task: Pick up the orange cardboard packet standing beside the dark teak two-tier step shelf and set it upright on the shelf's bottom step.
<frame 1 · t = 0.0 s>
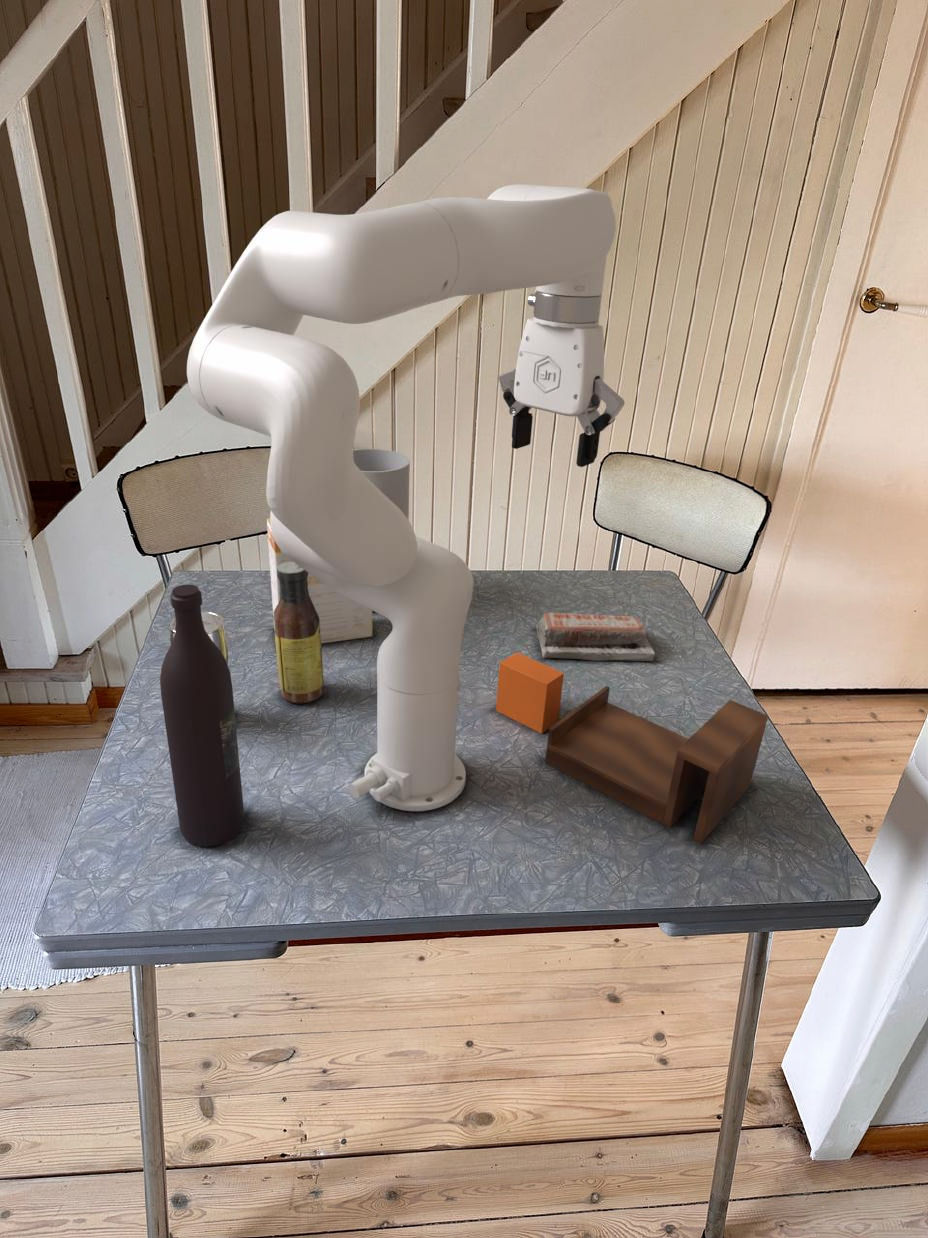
hand: (552, 455, 104), 37 cm above the table, tool pointing down, fingers open, 9 cm apart
packaged product: (592, 647, 137), on the table
wine bottle: (213, 828, 96), on the table
shelf: (646, 774, 108), on the table
sauce bottle: (301, 694, 121), on the table
beer glass: (207, 721, 114), on the table
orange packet: (526, 716, 118), on the table
cylinder vase: (371, 597, 149), on the table
coffeecake box: (323, 634, 136), on the table
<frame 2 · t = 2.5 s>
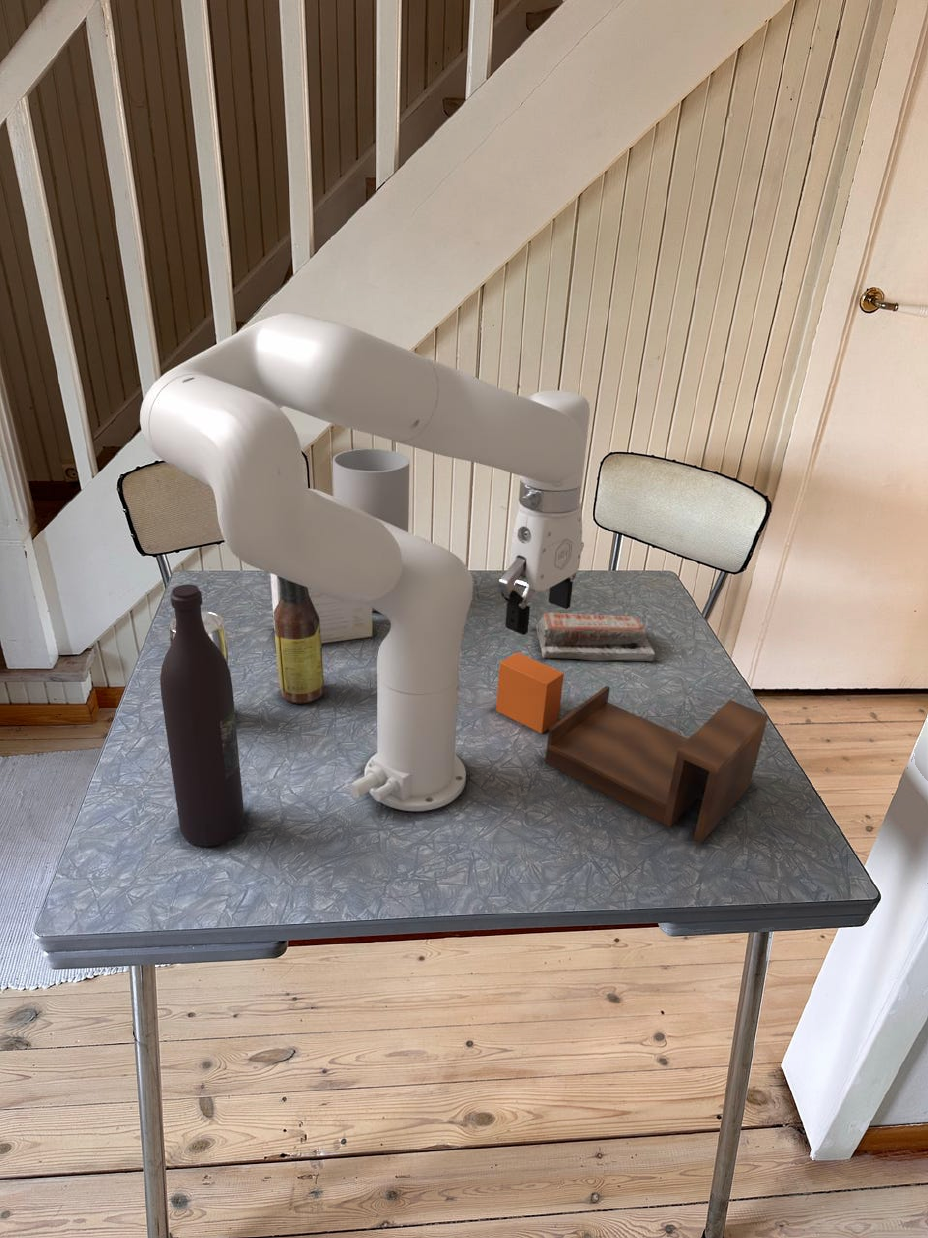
hand: (538, 617, 111), 16 cm above the table, tool pointing down, fingers open, 9 cm apart
nothing on the table moved.
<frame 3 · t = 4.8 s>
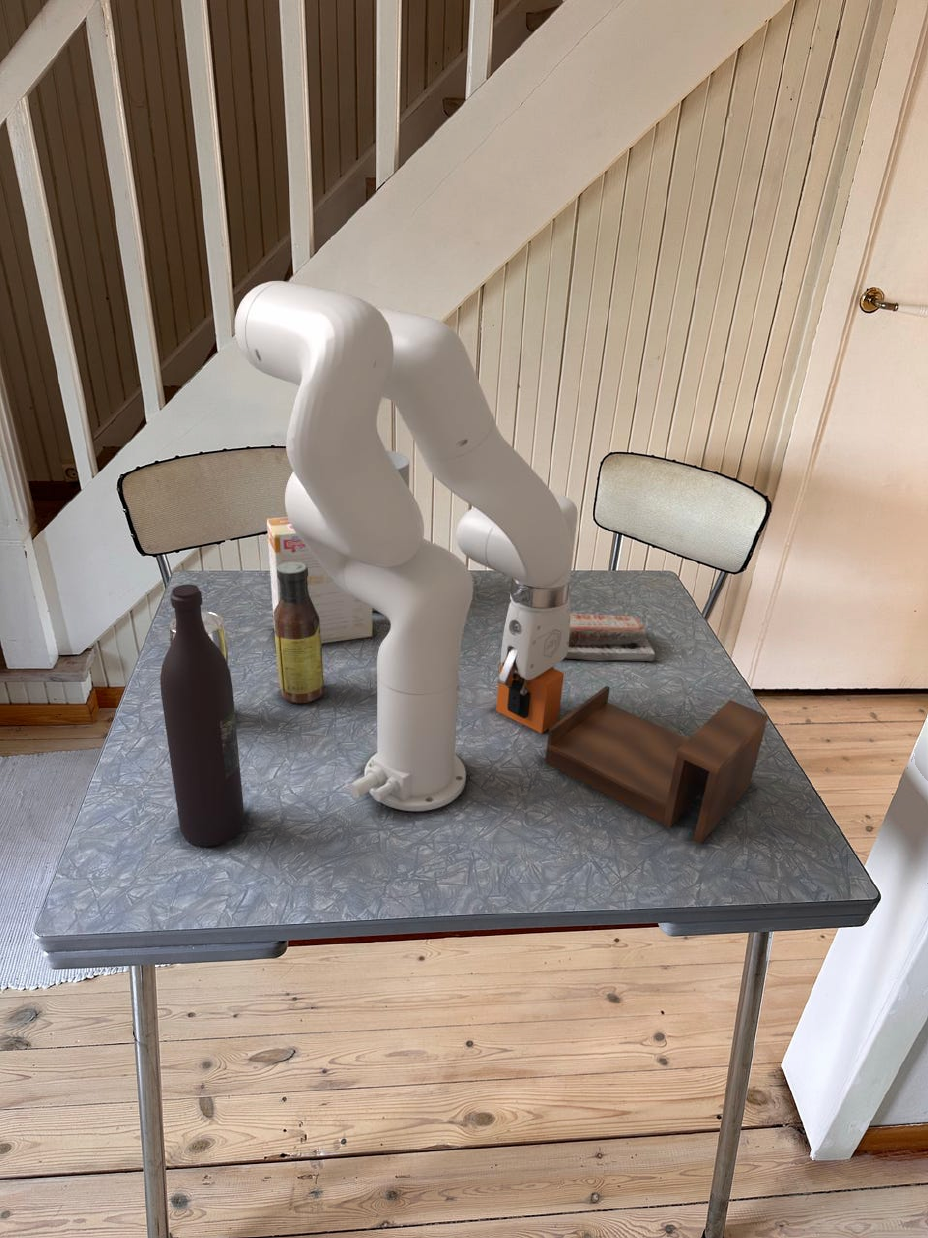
hand: (527, 705, 118), 2 cm above the table, tool pointing down, fingers closed on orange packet, 4 cm apart
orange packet: (526, 716, 118), on the table, touching gripper
everything else where it was.
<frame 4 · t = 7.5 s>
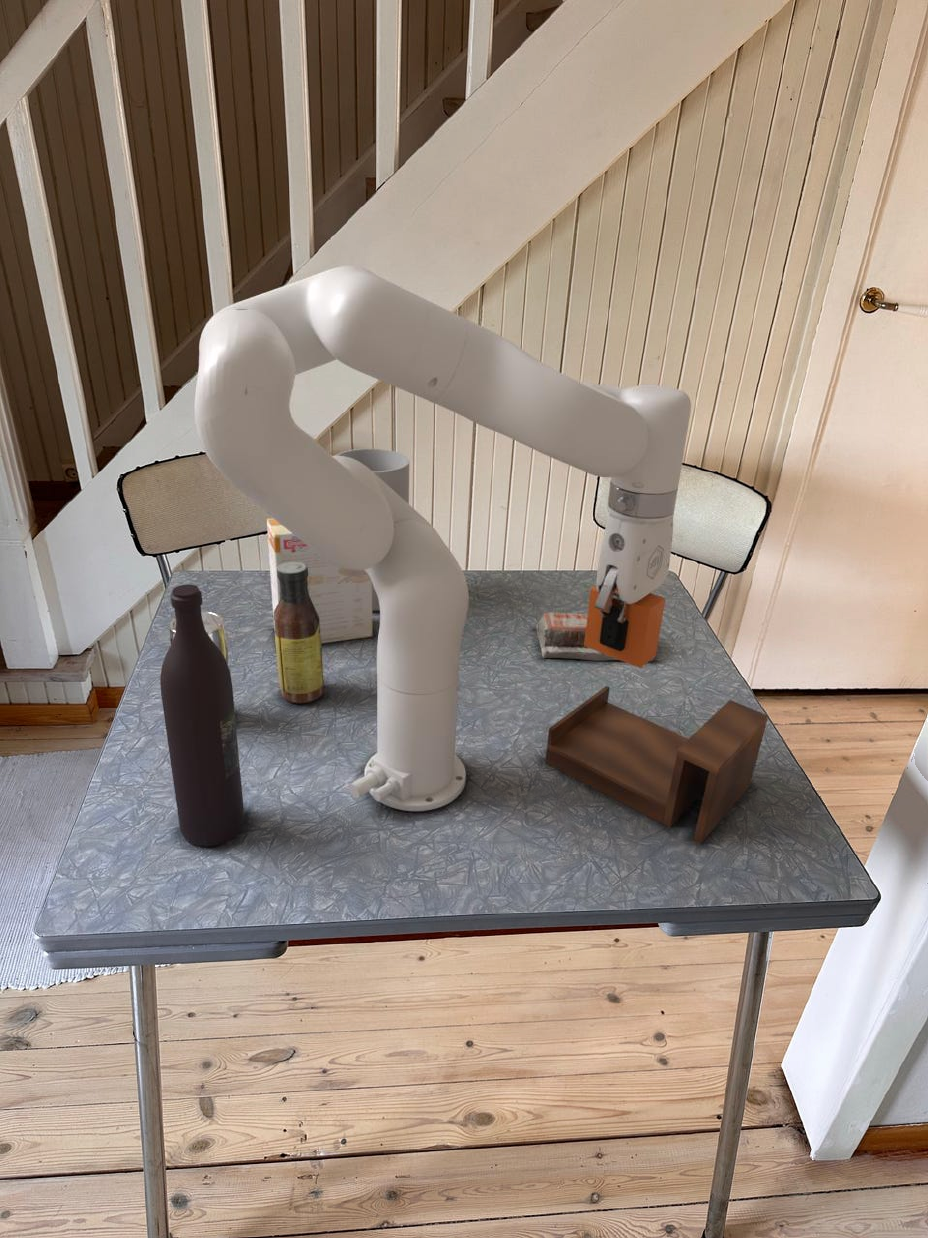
hand: (621, 638, 104), 17 cm above the table, tool pointing down, fingers closed on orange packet, 4 cm apart
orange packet: (619, 650, 104), point 16 cm above the table, touching gripper
everything else where it was.
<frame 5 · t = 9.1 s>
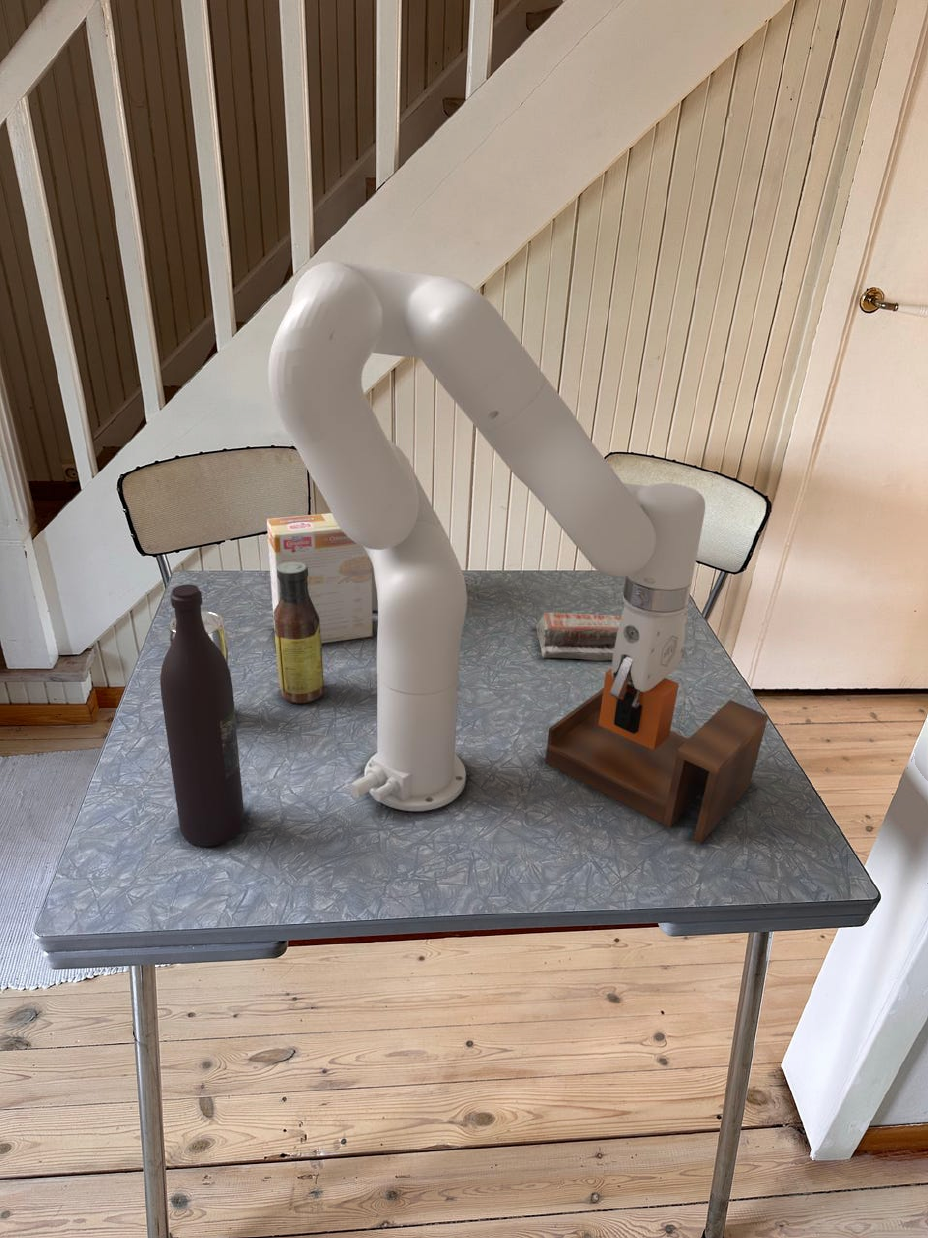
hand: (635, 719, 106), 7 cm above the table, tool pointing down, fingers closed on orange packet, 4 cm apart
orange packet: (633, 731, 107), point 5 cm above the table, touching gripper
everything else where it was.
when the fingers open (5 cm above the table, at t = 10.2 s): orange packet stays where it is, resting on shelf.
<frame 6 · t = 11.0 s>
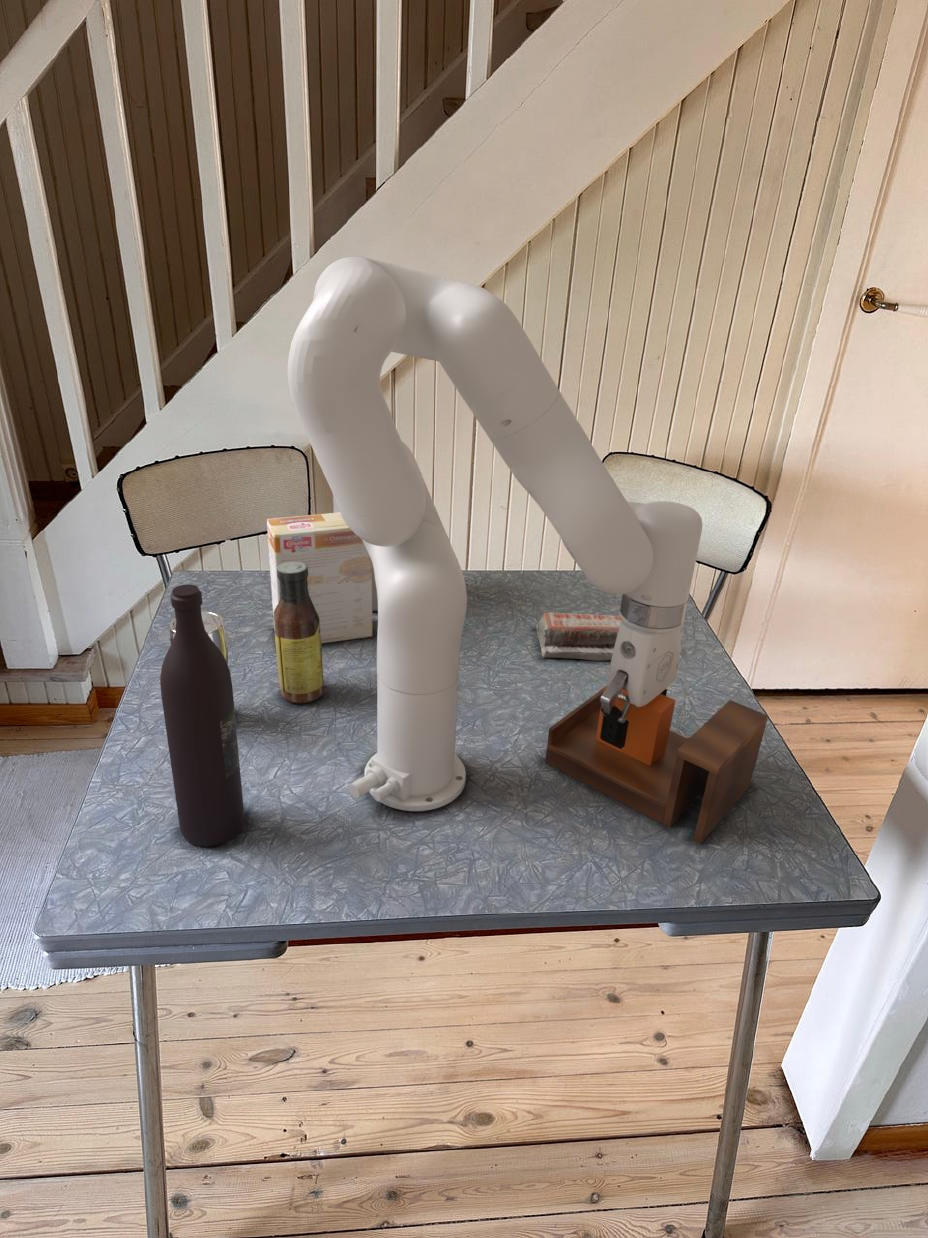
hand: (631, 726, 107), 6 cm above the table, tool pointing down, fingers open, 9 cm apart
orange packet: (630, 746, 108), point 3 cm above the table, touching shelf
everything else where it was.
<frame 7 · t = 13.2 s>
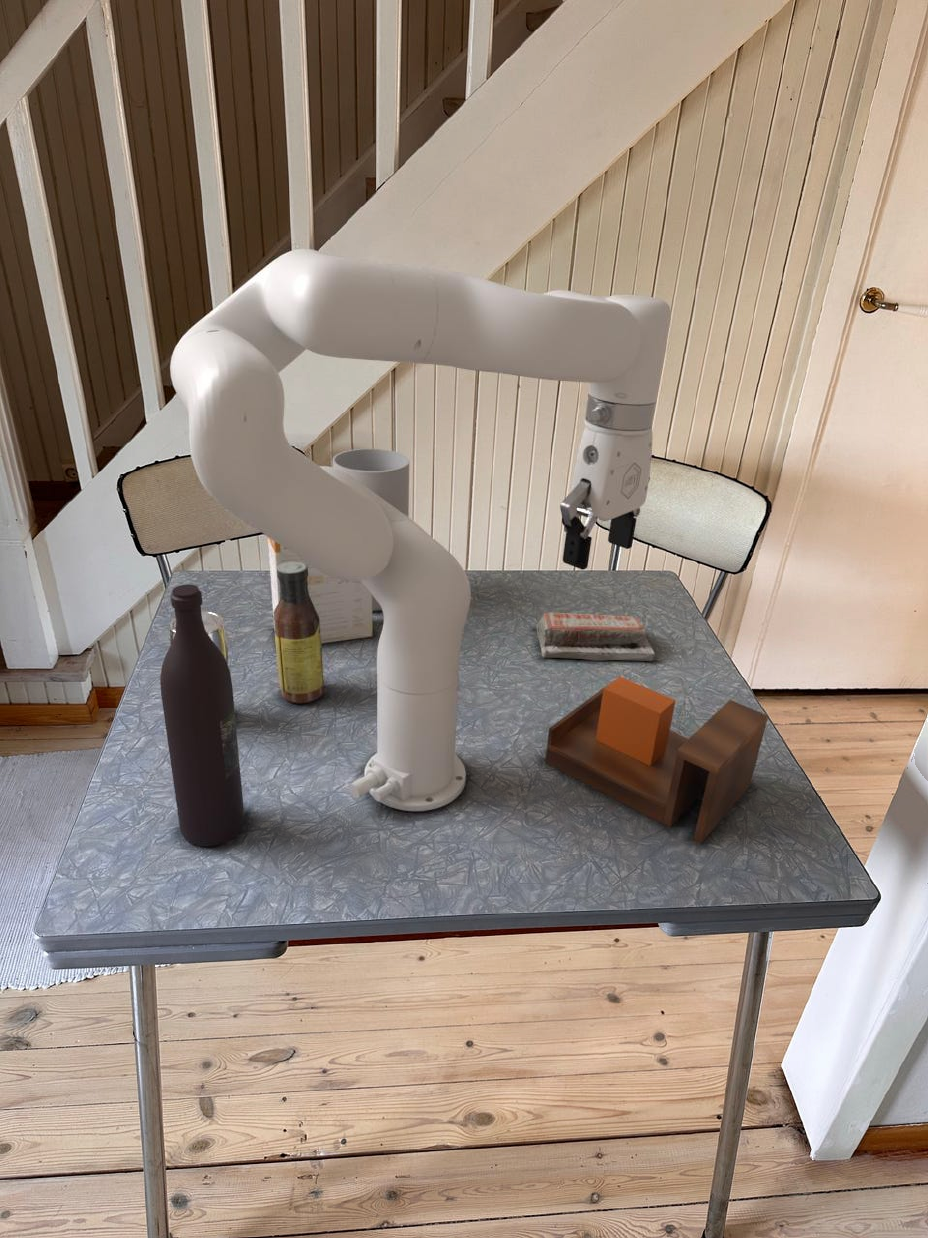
hand: (597, 555, 102), 27 cm above the table, tool pointing down, fingers open, 9 cm apart
nothing on the table moved.
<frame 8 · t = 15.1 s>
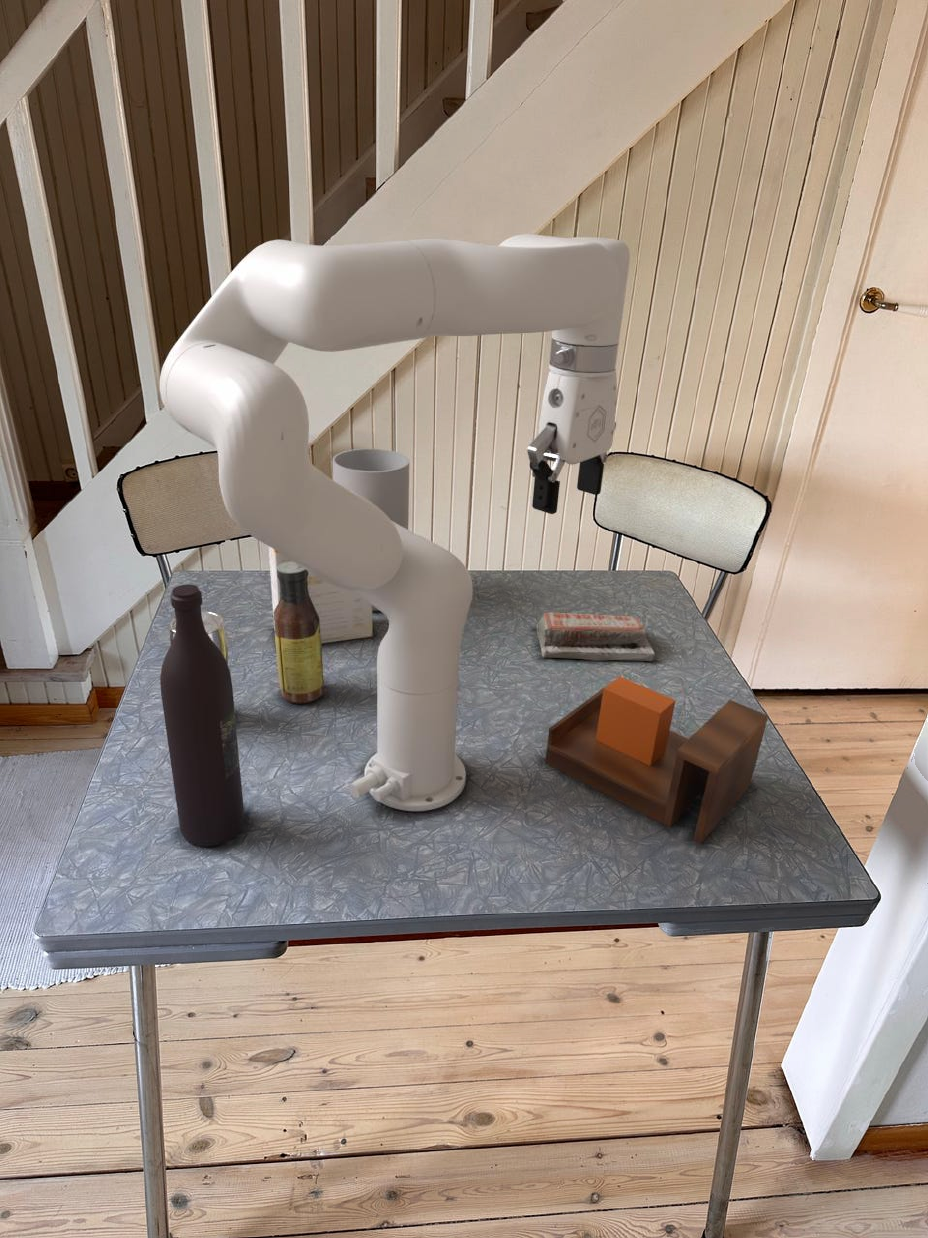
hand: (567, 501, 103), 32 cm above the table, tool pointing down, fingers open, 9 cm apart
nothing on the table moved.
at the end: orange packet inside the target area on the shelf (0.2 cm from its centre), point 3.0 cm above the shelf's base; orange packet tilted 0°; the gripper is holding nothing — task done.
